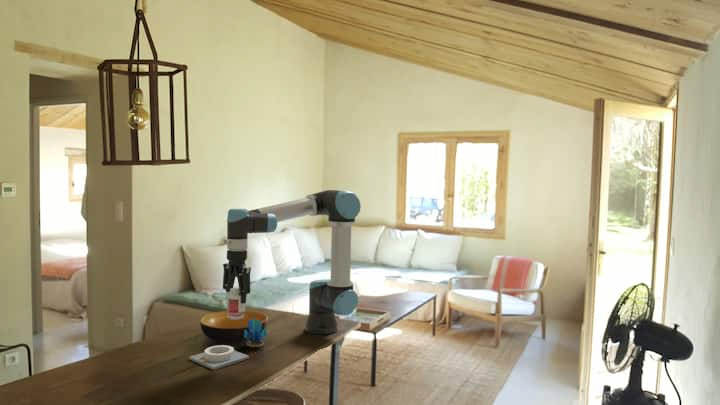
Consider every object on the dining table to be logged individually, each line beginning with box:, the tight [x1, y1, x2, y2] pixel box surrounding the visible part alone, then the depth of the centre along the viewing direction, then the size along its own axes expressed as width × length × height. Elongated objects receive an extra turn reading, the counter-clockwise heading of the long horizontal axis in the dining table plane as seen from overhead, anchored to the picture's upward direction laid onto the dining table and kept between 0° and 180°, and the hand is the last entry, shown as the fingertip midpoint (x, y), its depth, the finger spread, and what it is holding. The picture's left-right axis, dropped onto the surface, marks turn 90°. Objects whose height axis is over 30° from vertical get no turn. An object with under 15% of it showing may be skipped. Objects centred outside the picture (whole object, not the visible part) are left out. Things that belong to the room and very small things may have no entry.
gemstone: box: [243, 317, 268, 348], centre depth 215 cm, size 7×9×12 cm
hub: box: [188, 344, 250, 371], centre depth 198 cm, size 16×16×4 cm
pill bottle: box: [227, 287, 245, 320], centre depth 196 cm, size 6×6×11 cm
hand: (235, 309), depth 196 cm, fingers closed on pill bottle, 6 cm apart
